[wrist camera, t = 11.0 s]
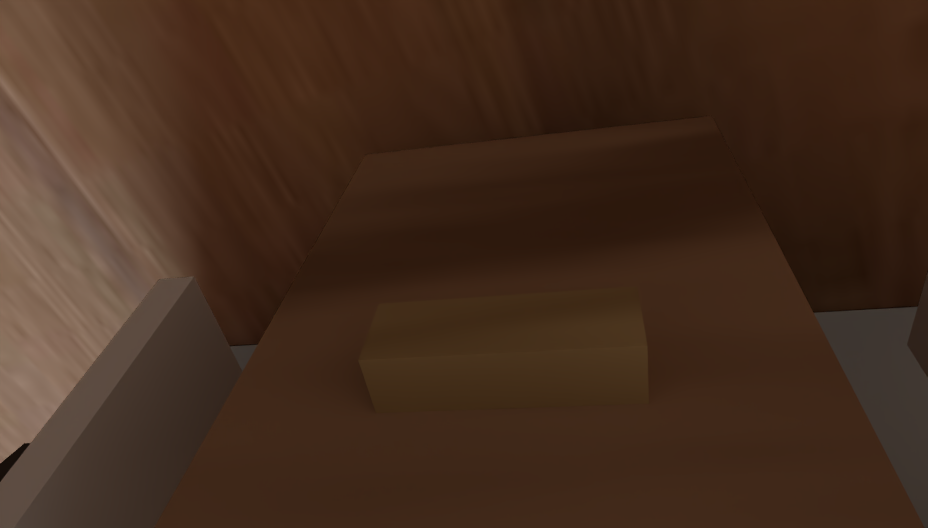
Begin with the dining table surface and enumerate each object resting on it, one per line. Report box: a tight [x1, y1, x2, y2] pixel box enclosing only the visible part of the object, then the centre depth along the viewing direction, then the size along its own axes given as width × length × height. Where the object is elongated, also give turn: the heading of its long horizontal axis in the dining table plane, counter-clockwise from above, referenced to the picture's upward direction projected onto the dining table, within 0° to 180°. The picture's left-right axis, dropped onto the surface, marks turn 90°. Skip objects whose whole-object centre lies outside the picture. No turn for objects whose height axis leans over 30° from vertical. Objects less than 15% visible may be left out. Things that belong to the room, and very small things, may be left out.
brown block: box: [154, 116, 925, 528], centre depth 11 cm, size 9×7×10 cm
